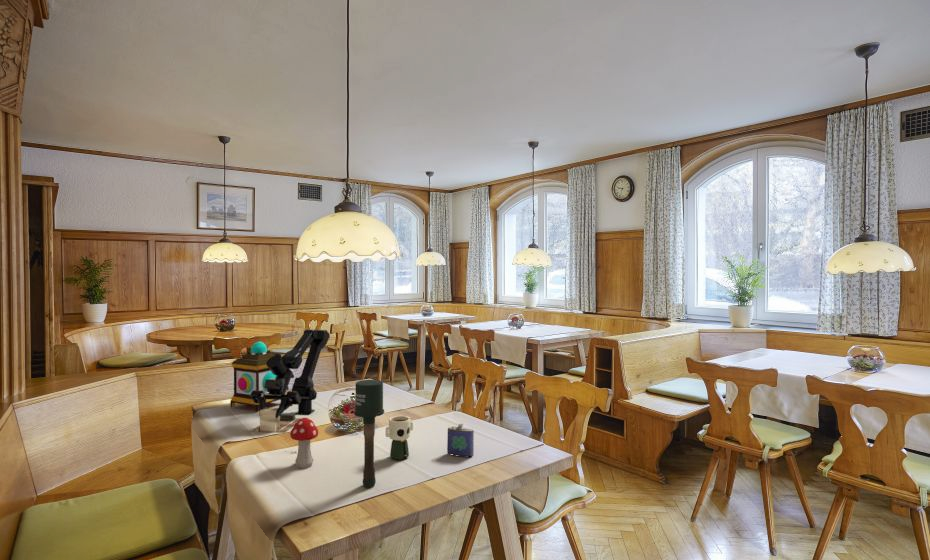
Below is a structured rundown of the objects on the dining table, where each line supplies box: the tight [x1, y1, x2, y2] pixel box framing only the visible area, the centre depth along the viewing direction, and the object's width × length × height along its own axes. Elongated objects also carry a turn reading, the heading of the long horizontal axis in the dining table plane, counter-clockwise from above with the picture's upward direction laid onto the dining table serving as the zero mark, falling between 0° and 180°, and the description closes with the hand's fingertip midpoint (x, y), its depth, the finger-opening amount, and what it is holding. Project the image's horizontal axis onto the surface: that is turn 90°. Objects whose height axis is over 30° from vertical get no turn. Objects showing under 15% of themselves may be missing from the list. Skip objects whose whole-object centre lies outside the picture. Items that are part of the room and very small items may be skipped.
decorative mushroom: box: [289, 417, 319, 469], centre depth 153 cm, size 10×9×15 cm
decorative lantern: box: [230, 341, 278, 413], centre depth 222 cm, size 20×20×30 cm
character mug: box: [385, 415, 414, 460], centre depth 160 cm, size 11×7×13 cm, turn 133°
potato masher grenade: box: [353, 379, 385, 489], centre depth 138 cm, size 8×9×30 cm
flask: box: [446, 423, 475, 457], centre depth 162 cm, size 9×3×11 cm, turn 74°
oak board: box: [248, 413, 302, 434], centre depth 191 cm, size 18×14×3 cm
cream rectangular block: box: [259, 407, 281, 433], centre depth 184 cm, size 4×7×8 cm, turn 85°
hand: (268, 417), depth 183 cm, fingers closed on cream rectangular block, 6 cm apart
